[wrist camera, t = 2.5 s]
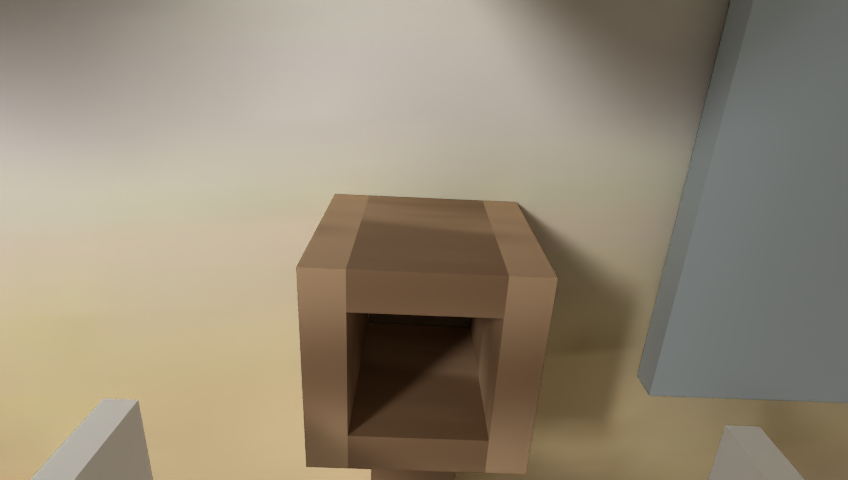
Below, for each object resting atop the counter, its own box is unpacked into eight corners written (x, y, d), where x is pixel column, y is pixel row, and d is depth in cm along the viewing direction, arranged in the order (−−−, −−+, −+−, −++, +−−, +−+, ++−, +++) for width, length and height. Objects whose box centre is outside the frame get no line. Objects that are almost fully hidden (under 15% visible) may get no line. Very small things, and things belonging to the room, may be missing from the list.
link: (478, 516, 24) (495, 662, 18) (340, 511, 24) (315, 658, 18) (516, 202, 18) (557, 278, 13) (335, 194, 18) (296, 267, 12)
